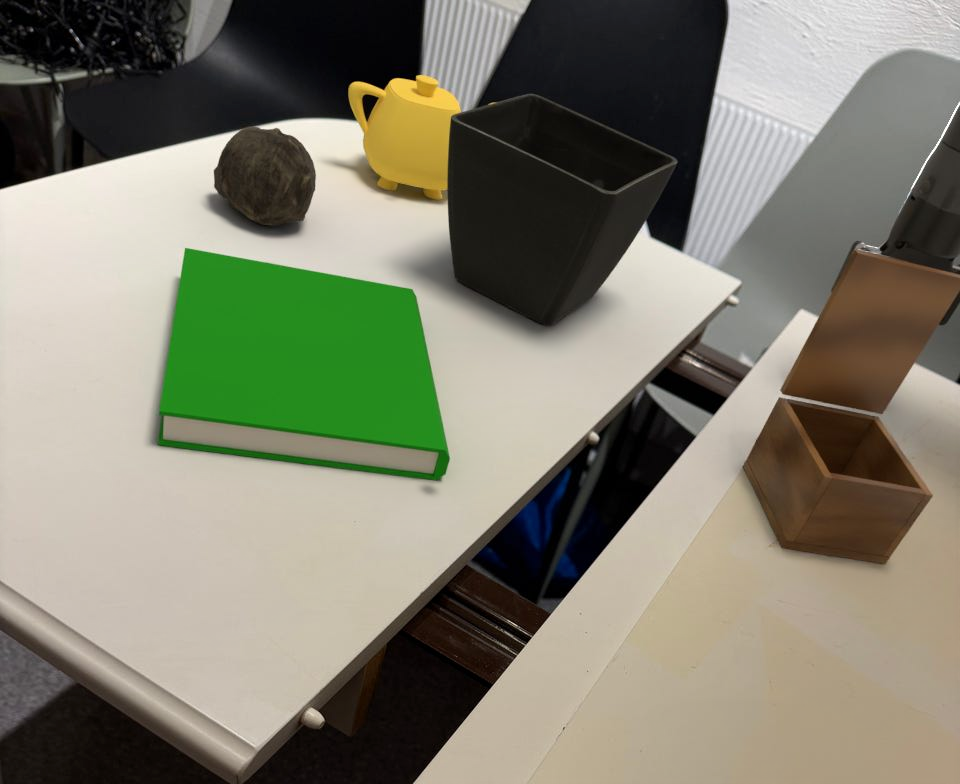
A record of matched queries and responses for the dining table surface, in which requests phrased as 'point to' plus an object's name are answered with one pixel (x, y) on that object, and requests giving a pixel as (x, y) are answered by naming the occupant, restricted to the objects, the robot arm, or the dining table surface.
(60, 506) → the dining table surface
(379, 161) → the teapot
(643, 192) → the flower pot
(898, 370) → the lid
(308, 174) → the rock
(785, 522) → the open wooden box
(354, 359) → the book
